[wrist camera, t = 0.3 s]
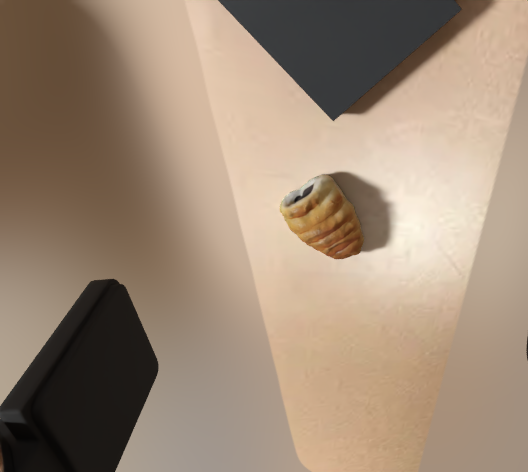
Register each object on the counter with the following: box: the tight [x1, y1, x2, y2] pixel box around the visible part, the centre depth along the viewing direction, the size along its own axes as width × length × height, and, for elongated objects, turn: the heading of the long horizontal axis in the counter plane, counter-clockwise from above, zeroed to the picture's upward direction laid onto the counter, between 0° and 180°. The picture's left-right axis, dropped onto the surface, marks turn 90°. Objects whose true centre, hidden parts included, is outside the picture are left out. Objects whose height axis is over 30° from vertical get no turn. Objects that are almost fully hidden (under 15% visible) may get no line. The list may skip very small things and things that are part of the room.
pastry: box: [280, 175, 364, 259], centre depth 50 cm, size 9×7×4 cm
